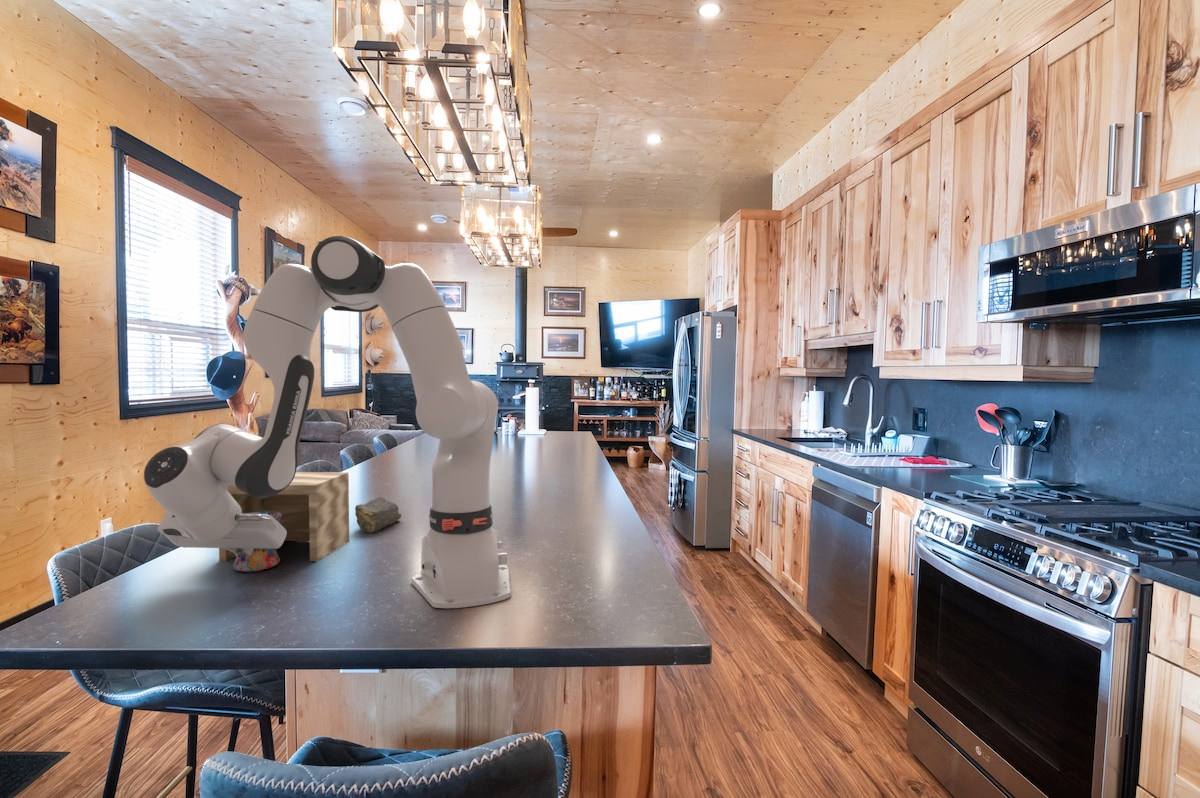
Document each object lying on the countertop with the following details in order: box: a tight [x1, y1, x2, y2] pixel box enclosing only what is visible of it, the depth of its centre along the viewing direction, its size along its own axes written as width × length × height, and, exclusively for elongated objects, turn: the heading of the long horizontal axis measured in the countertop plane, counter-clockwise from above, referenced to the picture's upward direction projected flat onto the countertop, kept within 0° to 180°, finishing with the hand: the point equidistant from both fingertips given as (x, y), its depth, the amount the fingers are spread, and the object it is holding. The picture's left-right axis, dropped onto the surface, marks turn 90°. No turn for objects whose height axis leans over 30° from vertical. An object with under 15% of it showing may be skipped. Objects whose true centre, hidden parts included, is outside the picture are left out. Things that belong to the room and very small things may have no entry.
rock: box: [354, 496, 402, 534], centre depth 153 cm, size 17×7×10 cm
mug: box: [232, 511, 282, 573], centre depth 121 cm, size 12×9×11 cm
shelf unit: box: [218, 471, 350, 562], centre depth 131 cm, size 16×21×16 cm
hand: (245, 552), depth 117 cm, fingers closed, pressing on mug
